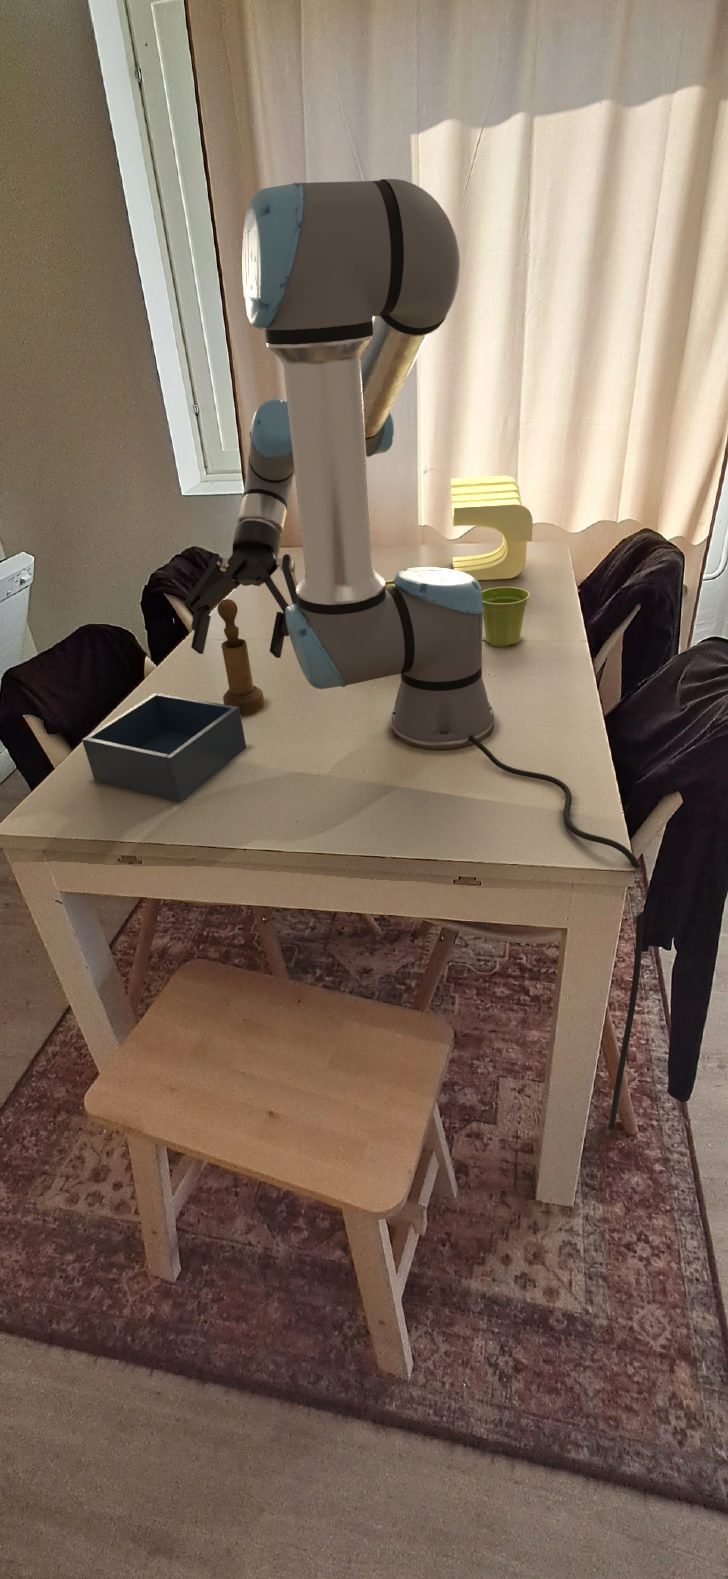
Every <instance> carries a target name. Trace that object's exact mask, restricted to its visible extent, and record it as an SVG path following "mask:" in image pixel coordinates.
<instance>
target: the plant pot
mask: <svg viewBox="0 0 728 1579" xmlns="http://www.w3.org/2000/svg"><path fill="white" fill-rule="evenodd" d="M481 592H482V605H483V609H484V612H483V618H482V622H483V627H484V636H485V641H486V643H489V644H490V645H491V646H493V647H508V646H509V645H516V644H518V643H519V642H520V638H521V634H522V627H523V621H524V615H525V609H526V607H527V604H528V600H530V598H531V593H530V592H529V590H526V589H524V588H520V587H515V586H497V587H491V588H487V589H483V590H481Z"/></svg>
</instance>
